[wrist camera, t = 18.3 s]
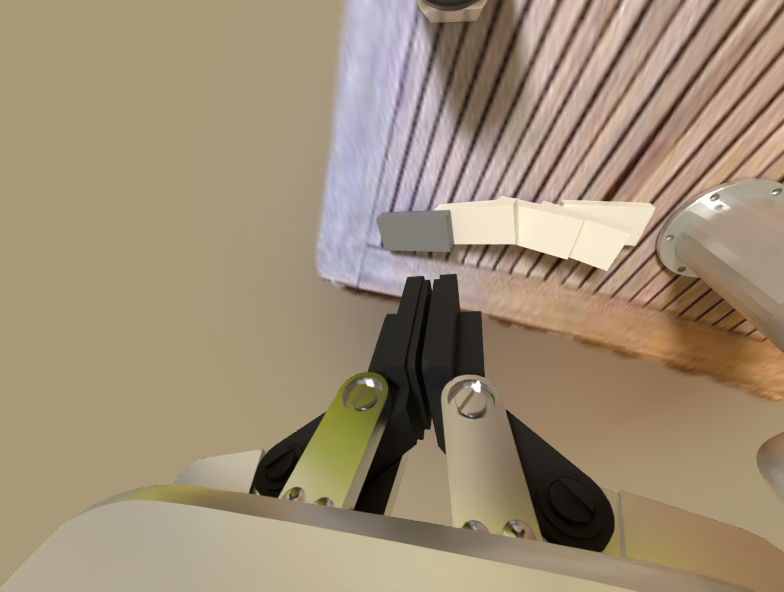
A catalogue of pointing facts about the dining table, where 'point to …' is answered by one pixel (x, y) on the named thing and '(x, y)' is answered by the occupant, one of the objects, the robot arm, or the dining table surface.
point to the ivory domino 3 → (598, 240)
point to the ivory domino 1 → (484, 221)
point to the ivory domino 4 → (617, 214)
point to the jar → (452, 10)
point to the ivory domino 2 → (547, 228)
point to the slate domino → (417, 231)
